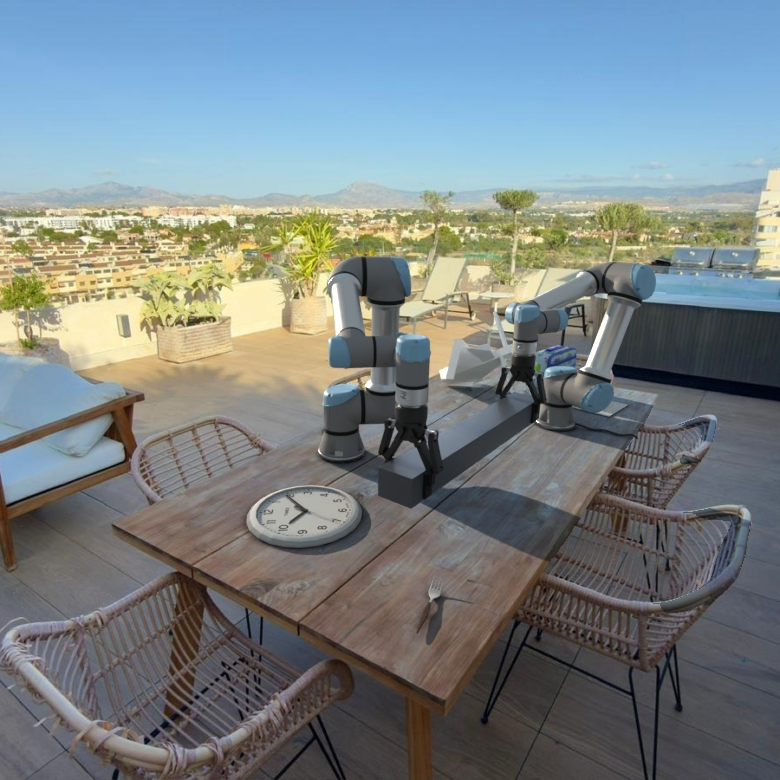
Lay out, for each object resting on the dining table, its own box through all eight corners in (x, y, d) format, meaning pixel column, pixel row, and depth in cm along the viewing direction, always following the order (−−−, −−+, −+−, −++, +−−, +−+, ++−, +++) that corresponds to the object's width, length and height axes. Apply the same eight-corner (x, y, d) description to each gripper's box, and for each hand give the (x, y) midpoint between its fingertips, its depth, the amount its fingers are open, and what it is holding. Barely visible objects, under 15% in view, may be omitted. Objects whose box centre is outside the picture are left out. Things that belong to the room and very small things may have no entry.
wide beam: (512, 412, 183) (514, 391, 180) (538, 418, 177) (541, 397, 175) (377, 495, 125) (378, 467, 122) (411, 508, 119) (412, 479, 117)
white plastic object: (461, 429, 252) (437, 405, 227) (444, 352, 274) (420, 323, 250) (535, 404, 240) (518, 377, 215) (510, 326, 262) (492, 293, 237)
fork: (410, 633, 98) (410, 625, 97) (432, 582, 112) (433, 574, 112) (423, 637, 97) (423, 628, 96) (444, 585, 111) (445, 577, 111)
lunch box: (548, 398, 236) (553, 353, 229) (527, 393, 243) (531, 349, 237) (575, 387, 253) (581, 344, 247) (555, 382, 260) (560, 341, 254)
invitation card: (608, 416, 214) (573, 407, 224) (608, 416, 214) (573, 408, 224) (628, 404, 229) (594, 396, 238) (628, 405, 229) (594, 397, 238)
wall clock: (364, 539, 124) (235, 543, 122) (364, 545, 125) (236, 550, 122) (360, 481, 153) (256, 483, 150) (360, 486, 153) (256, 488, 151)
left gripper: (363, 397, 123) (363, 481, 130) (445, 418, 110) (440, 511, 117) (382, 389, 129) (381, 471, 136) (462, 409, 116) (457, 498, 123)
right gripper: (487, 350, 172) (483, 414, 179) (553, 361, 159) (546, 429, 166) (497, 346, 178) (492, 408, 184) (562, 356, 165) (555, 422, 172)
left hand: (408, 489), depth 126 cm, fingers closed on wide beam, 10 cm apart
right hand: (518, 418), depth 175 cm, fingers closed on wide beam, 10 cm apart
